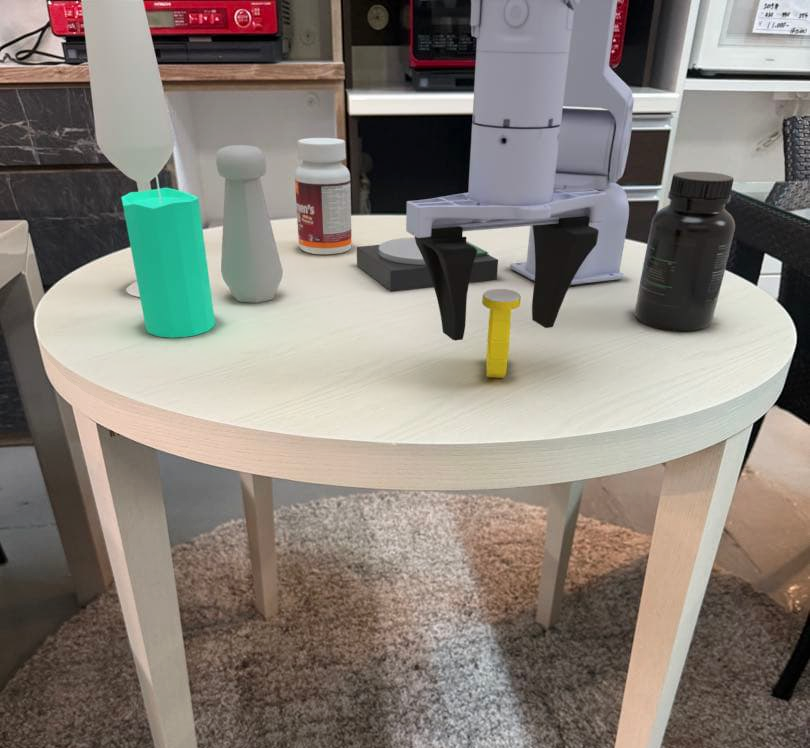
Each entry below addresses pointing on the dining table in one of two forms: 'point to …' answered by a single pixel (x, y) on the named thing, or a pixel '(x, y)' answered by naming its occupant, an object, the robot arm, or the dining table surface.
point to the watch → (499, 328)
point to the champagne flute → (127, 91)
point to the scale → (413, 264)
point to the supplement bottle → (687, 253)
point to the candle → (169, 261)
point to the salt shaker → (247, 227)
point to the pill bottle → (323, 197)
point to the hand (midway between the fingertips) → (498, 329)
